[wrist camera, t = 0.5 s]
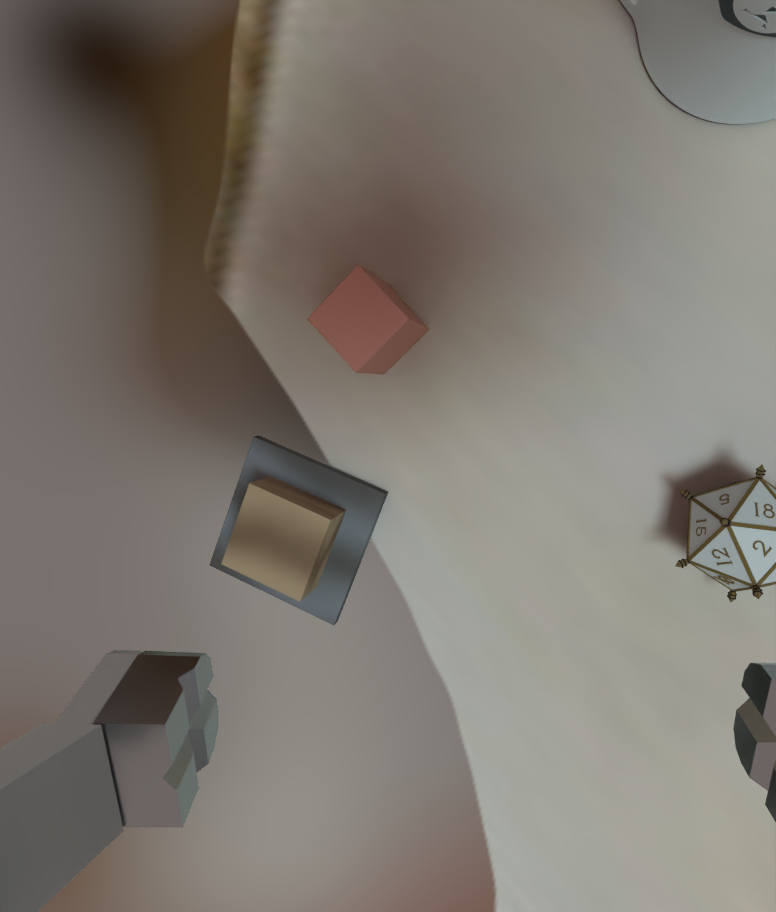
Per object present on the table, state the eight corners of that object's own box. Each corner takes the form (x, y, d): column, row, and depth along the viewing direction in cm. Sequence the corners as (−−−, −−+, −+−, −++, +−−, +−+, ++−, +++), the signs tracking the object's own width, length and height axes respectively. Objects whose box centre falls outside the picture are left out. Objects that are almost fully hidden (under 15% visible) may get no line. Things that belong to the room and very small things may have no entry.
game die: (734, 494, 50) (870, 478, 40) (730, 606, 48) (872, 616, 38) (642, 469, 47) (765, 445, 38) (633, 587, 45) (761, 592, 36)
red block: (386, 283, 50) (358, 264, 42) (429, 329, 50) (409, 319, 42) (342, 328, 51) (307, 319, 44) (383, 374, 51) (356, 372, 43)
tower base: (258, 435, 54) (231, 440, 49) (388, 492, 52) (372, 503, 47) (215, 562, 56) (184, 578, 51) (337, 620, 54) (317, 644, 49)
